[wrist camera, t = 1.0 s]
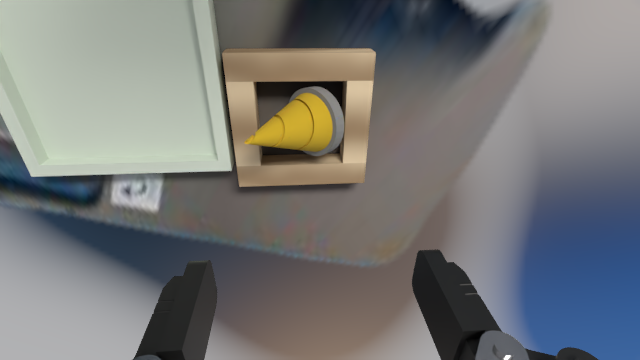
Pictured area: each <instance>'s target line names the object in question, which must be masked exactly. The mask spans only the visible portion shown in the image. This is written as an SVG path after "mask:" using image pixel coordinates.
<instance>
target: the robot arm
mask: <svg viewBox="0 0 640 360" xmlns="http://www.w3.org/2000/svg"><path fill="white" fill-rule="evenodd" d="M412 287H413V291H414V294H415V297H416V299H417V302H418V304H419V307H420V309H421V312H422V314H423V316H424V319H425V321H426V324H427V326H428V329H429V331H430V334H431V336H432V338H433V341H434V343H435V346H436V348H437V351H438V353H439V356H440V358H441V360H598V359H597V358H595V357H594V356H592V355H591V354H589V353H587V352H585V351H583V350H580V349H577V348H569V347H568V348H564V349H561V350H560V351H559V352H558V354H557V356H553V355H548V354H544V353H540V352H536V351H531V350H528V349H525V348H524V347H523V346H522V344H521V343H520V342H518V340H516V339H515V338H514V337H512V336H511V335H509V334H506V333H504V332H502V331H501V329H500V328H499V326H498V325H497V323H496V321H495V320H494V318H493V317H492V315H491V314H490V312H489V310H488V309H487V307H486V305H485V304H484V302H483V300H482V299H481V297H480V296H479V295H478V294H477V291H476V289H475V288H474V286H473V285H472V283H471V281H470V280H469V278H468V276H467V275H466V273H465V272H464V271H463V270H462V269H461V268H460V267H459V266H457V265H456V264H455V263H454V262H449V263H447V261H446V260H445V258H444V257H443V255H442V253H441V252H440V250H420V251H419V252H418V254H417V258H416V263H415V268H414V273H413V278H412ZM216 303H217V287H216V283H215V278H214V273H213V269H212V264H211V261H210V260H208V261H190V262H189V263H188V264H187V267H186V270H185V272H184V275H183V276H174V277H173V278H172V279H171V280H170V281H169V282H168V283H167V285H166V286H165V287H164V288H163V290H162V293H161V295H160V297H159V300H158V303H157V305H156V307H155V310H154V314H152V317H151V319H150V322H149V324H148V327H147V329H146V331H145V334H144V336H143V339H142V341H141V344H140V346H139V348H138V351H137V353H136V355H135V357H134V359H133V360H204V358H205V353H206V349H207V344H208V340H209V335H210V331H211V326H212V322H213V317H214V313H215V309H216Z"/></svg>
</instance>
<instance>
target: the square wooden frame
mask: <svg viewBox="0 0 640 360" xmlns="http://www.w3.org/2000/svg"><path fill="white" fill-rule="evenodd" d="M222 57H223V65H224V73H225V81H226V88H227V96H228V104H229V111H230V119H231V127H232V134H233V142H234V150H235V157H236V165H237V173H238V181H239V187H249V186H279V185H309V184H339V183H364V178H365V167H366V156H367V145H368V134H369V123H370V112H371V101H372V90H373V79H374V68H375V57H376V53H375V52H374V51H373V50H372V49H370V48H287V49H226V50H225V51H224V52H223V53H222ZM281 81H343V95H342V113H343V116H344V134H343V138H342V140H341V142H340V153H335V154H324V155H321V156H312V155H309V154H297V155H262V146H259V145H250V144H245V143H244V142H245V141H246V140H247V139H248V138H249V137H250V136H251V135H253V136H254V135H255V132H256V131H257V130H258V129H260V122H259V110H258V98H257V87H256V82H281Z"/></svg>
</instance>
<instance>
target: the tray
mask: <svg viewBox="0 0 640 360" xmlns="http://www.w3.org/2000/svg"><path fill="white" fill-rule="evenodd" d="M0 113H1V115H2V117H3V119H4V121H5V123H6V125H7V128H8V130H9V132H10V134H11V136H12V138H13V140H14V142H15V144H16V146H17V148H18V150H19V152H20V154H21V156H22V158H23V160H24V162H25V164H26V166H27V168H28V170H29V172H30V174H31V177H38V176H72V175H106V174H139V173H173V172H207V171H232V168H233V165H234V162H235V160H234V153H233V145H232V138H231V130H230V123H229V115H228V107H227V100H226V92H225V85H224V77H223V70H222V62H221V55H220V47H219V39H218V32H217V24H216V17H215V9H214V2H213V0H0Z"/></svg>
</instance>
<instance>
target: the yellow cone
mask: <svg viewBox="0 0 640 360" xmlns="http://www.w3.org/2000/svg"><path fill="white" fill-rule="evenodd" d="M343 134H344V116H343V113H342V109H341V107H340V105H339V103H338V101H337V100H336V98H335V97H334V96H333V95H332V94H331V93H330V92H329V91H327V90H326V89H324V88H322V87H317V86H313V87H307V88H302V89H299V90H297V91H296V92H295V93H294V94H293V95H292V96H291V98H290V100H289V102H288V105H286V106H285V107H284V108H283V109H282V110H281V111H279V112H278V113H277V114H276V115H275V116H274V117H272V118H271V119H270V120H269V121H268V122H267V123H265V124H264V125H263V126H262V127H261V128H260V129H258V130H257V131H256V132H255V135H254V136H253V135H251V136H250V137H249V138H248V139H247V140H246V141H245V142H244V143H245V144H250V145H259V146H268V147H277V148H286V149H295V150H302V151H303V152H305V153H307V154H309V155H312V156H321V155H324V154H326V153H329V152H331V151H333V150H334V149H336V148H337V147H338V145H339V144H340V142H341V140H342V138H343Z"/></svg>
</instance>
